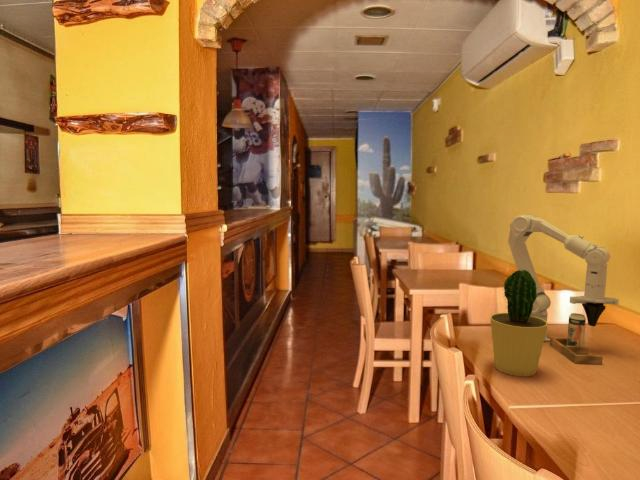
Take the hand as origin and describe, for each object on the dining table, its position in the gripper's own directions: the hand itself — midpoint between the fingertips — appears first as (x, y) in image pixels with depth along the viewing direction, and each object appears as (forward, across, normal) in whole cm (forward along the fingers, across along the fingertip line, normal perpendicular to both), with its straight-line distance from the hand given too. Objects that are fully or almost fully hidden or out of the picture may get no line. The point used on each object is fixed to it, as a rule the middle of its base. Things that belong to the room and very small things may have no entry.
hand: (591, 325), depth 152 cm
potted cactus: (+9, -31, -18) cm, 37 cm away
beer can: (+9, -5, 0) cm, 10 cm away
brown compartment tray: (+8, -7, -4) cm, 12 cm away
